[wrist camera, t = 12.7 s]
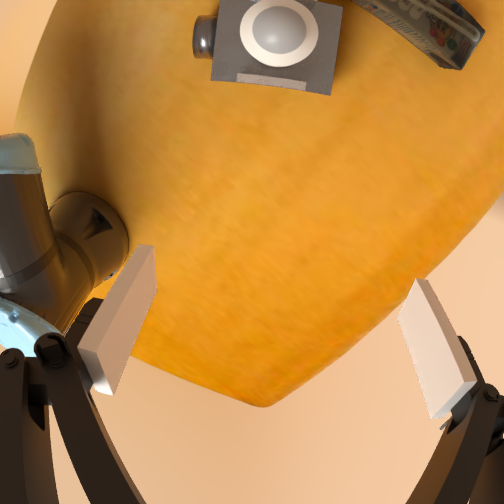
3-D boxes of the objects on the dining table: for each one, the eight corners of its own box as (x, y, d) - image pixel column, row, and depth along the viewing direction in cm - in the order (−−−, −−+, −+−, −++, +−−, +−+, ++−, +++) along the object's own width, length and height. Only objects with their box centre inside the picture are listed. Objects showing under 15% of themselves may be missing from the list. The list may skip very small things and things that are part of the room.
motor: (200, 77, 33) (176, 80, 25) (208, 2, 28) (187, -19, 20) (321, 91, 33) (337, 99, 25) (332, 16, 28) (352, -1, 20)
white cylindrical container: (244, 64, 27) (235, 62, 21) (249, 10, 24) (242, -9, 17) (305, 71, 27) (315, 70, 21) (311, 17, 24) (323, 1, 17)
